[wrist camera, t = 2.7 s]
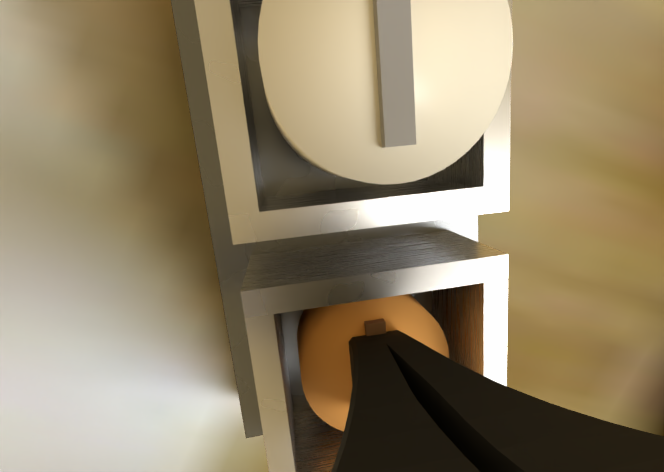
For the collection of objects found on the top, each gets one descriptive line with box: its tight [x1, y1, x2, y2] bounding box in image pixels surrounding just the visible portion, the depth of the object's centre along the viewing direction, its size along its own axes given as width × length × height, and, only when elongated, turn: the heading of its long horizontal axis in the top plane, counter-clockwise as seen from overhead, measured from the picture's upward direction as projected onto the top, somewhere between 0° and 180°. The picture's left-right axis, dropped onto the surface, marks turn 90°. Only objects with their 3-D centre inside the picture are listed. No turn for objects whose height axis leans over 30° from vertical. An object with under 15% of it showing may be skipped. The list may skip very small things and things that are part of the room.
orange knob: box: [297, 294, 449, 431], centre depth 10 cm, size 4×4×2 cm
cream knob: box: [258, 0, 513, 184], centre depth 6 cm, size 4×4×2 cm
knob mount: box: [171, 0, 512, 472], centre depth 10 cm, size 13×8×5 cm, turn 4°
